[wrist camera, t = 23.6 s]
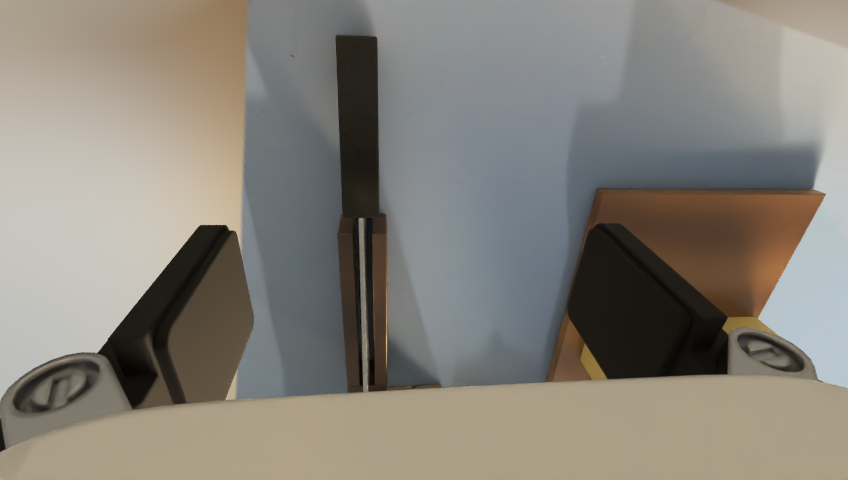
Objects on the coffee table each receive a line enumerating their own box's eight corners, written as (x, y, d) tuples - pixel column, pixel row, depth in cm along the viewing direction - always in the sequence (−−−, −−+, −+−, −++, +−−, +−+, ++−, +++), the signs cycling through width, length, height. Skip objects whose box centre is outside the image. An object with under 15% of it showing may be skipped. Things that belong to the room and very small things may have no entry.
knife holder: (340, 213, 29) (337, 233, 26) (386, 213, 29) (386, 233, 26) (350, 368, 36) (348, 395, 33) (386, 366, 36) (387, 393, 33)
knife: (381, 374, 33) (381, 411, 28) (353, 375, 32) (350, 413, 28) (377, 49, 26) (377, 36, 22) (342, 48, 25) (335, 34, 21)
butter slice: (590, 321, 35) (614, 354, 31) (623, 319, 35) (651, 353, 31) (579, 359, 37) (600, 395, 33) (610, 358, 37) (635, 393, 33)
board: (596, 188, 30) (603, 193, 29) (814, 189, 32) (826, 194, 31) (546, 382, 39) (549, 390, 38) (715, 373, 41) (723, 381, 40)
